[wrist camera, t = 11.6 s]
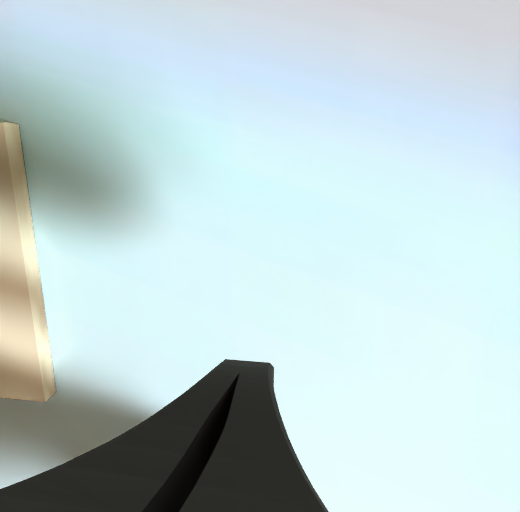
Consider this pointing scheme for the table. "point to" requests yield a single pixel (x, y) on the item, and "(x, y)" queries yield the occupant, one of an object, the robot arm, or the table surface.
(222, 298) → the table surface
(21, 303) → the birch board
